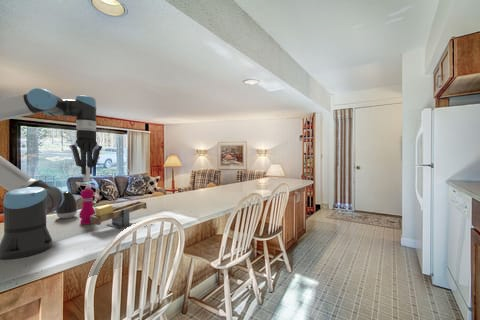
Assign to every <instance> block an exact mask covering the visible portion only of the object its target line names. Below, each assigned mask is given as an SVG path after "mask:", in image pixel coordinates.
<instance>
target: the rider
mask: <svg viewBox="0 0 480 320" xmlns="http://www.w3.org/2000/svg"><path fill="white" fill-rule="evenodd" d="M112 207H113V205H112V204H104V205H100V206H97V207H95V208H94V210H95V214H96V216H97V217H99V216H103V215H106V214H109V213H112V212H113V208H112Z"/></svg>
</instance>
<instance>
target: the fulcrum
mask: <svg viewBox="0 0 480 320" xmlns="http://www.w3.org/2000/svg"><path fill="white" fill-rule="evenodd" d="M117 207H119V206H112V208H113V209H114V208H117ZM132 224H134V223H132V222H130V213H129V209H123V210H122V215H121V216H118V217H115V218H112V219H111V222H109V223H106V226H108V227H111V228H114V229H117V230H122V229H125V228H129V227H131V226H130V225H132ZM128 226H129V227H128Z"/></svg>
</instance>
